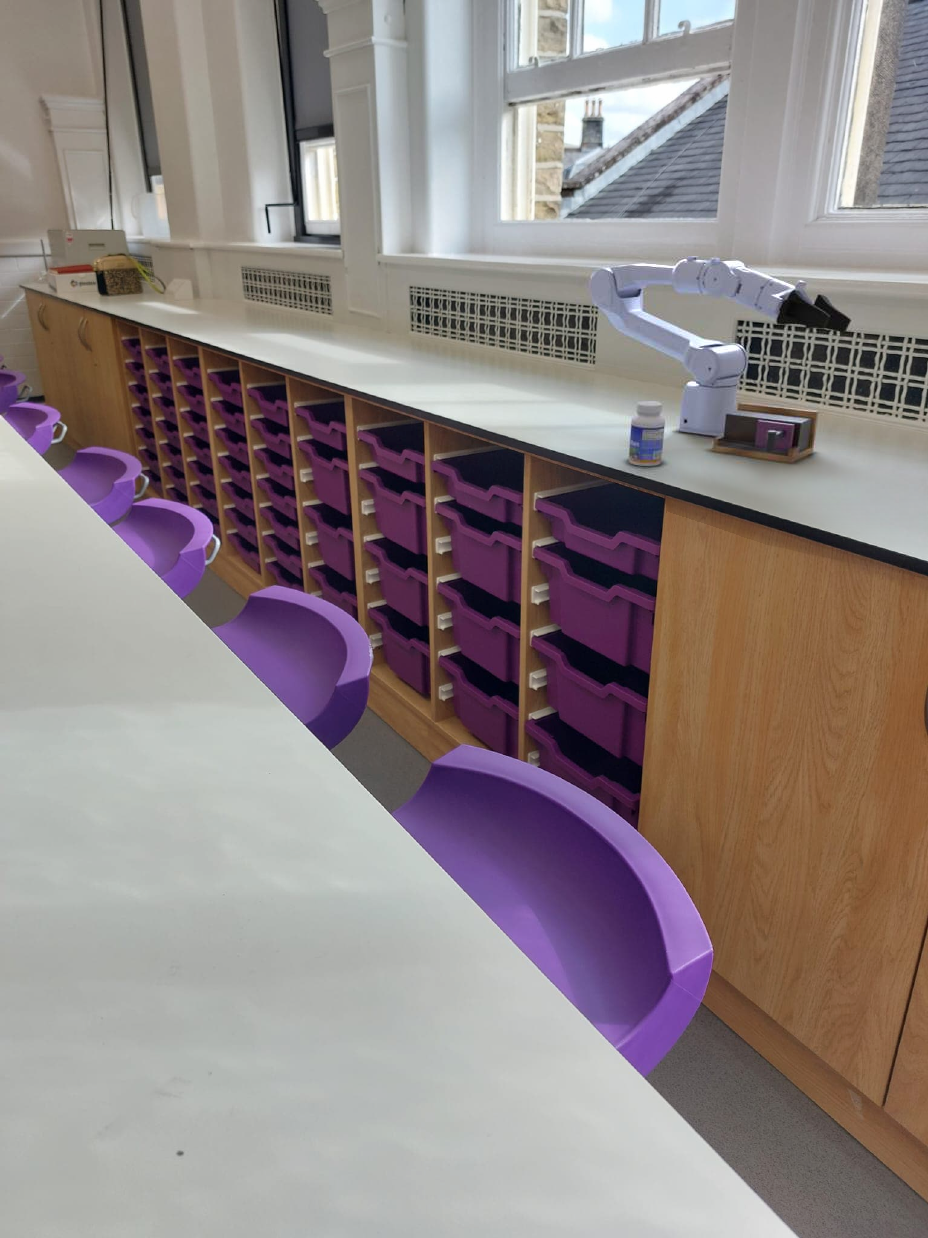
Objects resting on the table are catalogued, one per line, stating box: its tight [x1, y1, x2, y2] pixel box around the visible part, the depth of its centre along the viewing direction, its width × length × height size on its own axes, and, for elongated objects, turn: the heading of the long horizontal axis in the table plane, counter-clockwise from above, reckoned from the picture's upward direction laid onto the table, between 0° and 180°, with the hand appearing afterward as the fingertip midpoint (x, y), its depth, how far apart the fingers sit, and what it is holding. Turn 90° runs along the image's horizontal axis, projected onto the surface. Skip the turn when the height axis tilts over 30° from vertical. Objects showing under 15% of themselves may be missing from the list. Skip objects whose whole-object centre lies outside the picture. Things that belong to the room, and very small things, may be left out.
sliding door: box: [755, 420, 795, 452], centre depth 143 cm, size 6×6×5 cm
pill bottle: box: [628, 400, 666, 467], centre depth 143 cm, size 5×5×10 cm
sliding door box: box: [712, 401, 820, 464], centre depth 149 cm, size 14×9×7 cm, turn 49°
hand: (837, 324), depth 142 cm, fingers open, 7 cm apart
